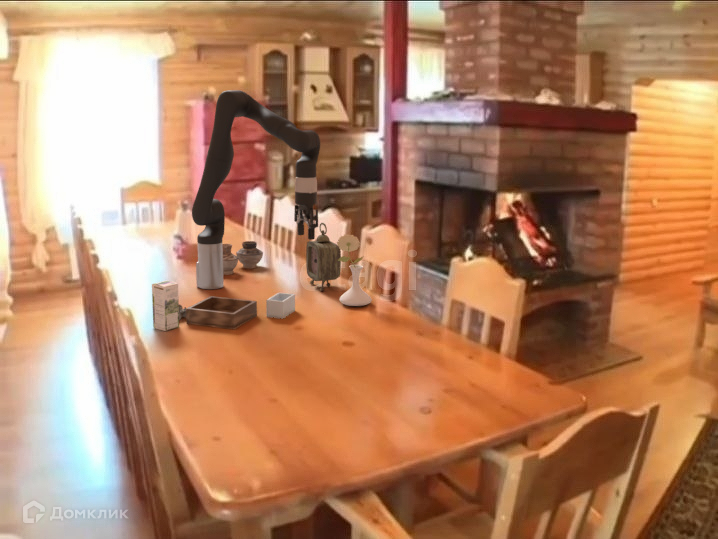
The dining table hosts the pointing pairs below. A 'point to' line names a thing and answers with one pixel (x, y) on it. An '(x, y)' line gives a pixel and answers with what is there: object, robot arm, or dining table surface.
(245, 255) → the pottery
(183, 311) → the egg carton
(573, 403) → the dining table surface
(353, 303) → the flower in vase
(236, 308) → the walnut crate
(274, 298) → the small crate
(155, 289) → the syrup box
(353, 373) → the dining table surface
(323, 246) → the tabletop clock
